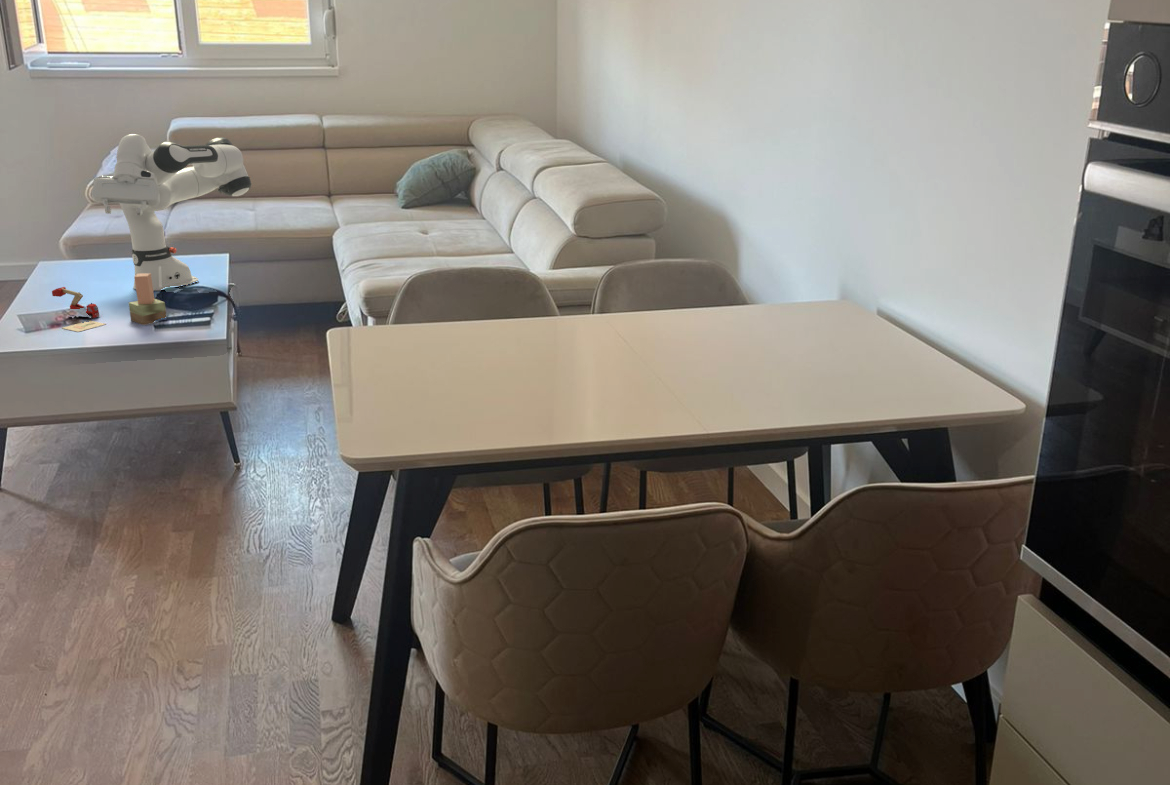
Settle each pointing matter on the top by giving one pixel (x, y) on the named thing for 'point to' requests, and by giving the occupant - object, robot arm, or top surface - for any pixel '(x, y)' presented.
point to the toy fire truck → (91, 308)
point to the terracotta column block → (144, 288)
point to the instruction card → (83, 326)
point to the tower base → (147, 318)
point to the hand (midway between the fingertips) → (123, 213)
